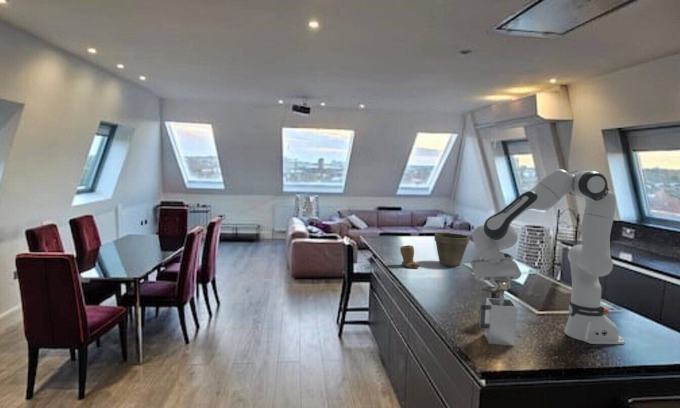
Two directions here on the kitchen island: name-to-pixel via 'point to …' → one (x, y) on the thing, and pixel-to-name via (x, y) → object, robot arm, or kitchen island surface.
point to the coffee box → (488, 296)
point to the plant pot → (451, 247)
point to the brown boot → (408, 256)
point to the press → (499, 321)
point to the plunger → (502, 292)
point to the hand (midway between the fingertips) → (503, 288)
